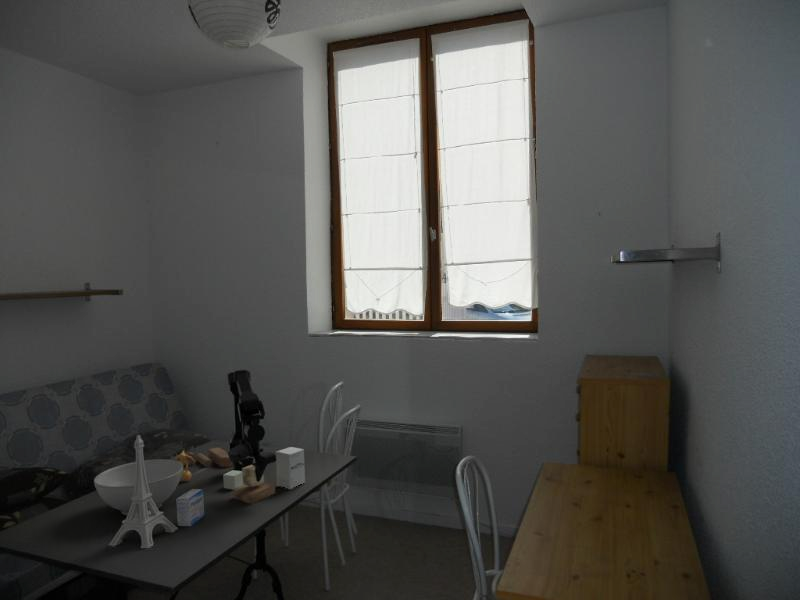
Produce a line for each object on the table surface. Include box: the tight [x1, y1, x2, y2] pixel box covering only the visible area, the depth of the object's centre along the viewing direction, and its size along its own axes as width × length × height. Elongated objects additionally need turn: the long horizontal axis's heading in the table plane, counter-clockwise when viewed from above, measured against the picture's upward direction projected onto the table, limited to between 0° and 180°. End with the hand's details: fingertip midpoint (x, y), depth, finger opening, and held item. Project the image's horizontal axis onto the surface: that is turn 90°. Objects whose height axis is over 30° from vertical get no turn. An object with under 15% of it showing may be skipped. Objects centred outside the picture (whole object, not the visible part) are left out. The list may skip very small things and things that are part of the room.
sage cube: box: [222, 469, 244, 490], centre depth 204 cm, size 5×5×5 cm
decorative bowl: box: [93, 458, 184, 516], centre depth 187 cm, size 27×27×12 cm
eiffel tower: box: [108, 434, 179, 548], centre depth 165 cm, size 13×13×30 cm
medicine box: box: [175, 488, 205, 527], centre depth 175 cm, size 8×4×9 cm, turn 168°
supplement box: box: [275, 446, 306, 490], centre depth 203 cm, size 7×7×13 cm
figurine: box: [173, 450, 197, 483], centre depth 211 cm, size 8×6×12 cm
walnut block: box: [232, 481, 276, 505], centre depth 194 cm, size 10×10×4 cm
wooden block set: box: [177, 447, 233, 468], centre depth 230 cm, size 17×6×18 cm
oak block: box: [242, 465, 265, 487], centre depth 194 cm, size 5×5×6 cm
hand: (253, 480), depth 194 cm, fingers closed on oak block, 5 cm apart
